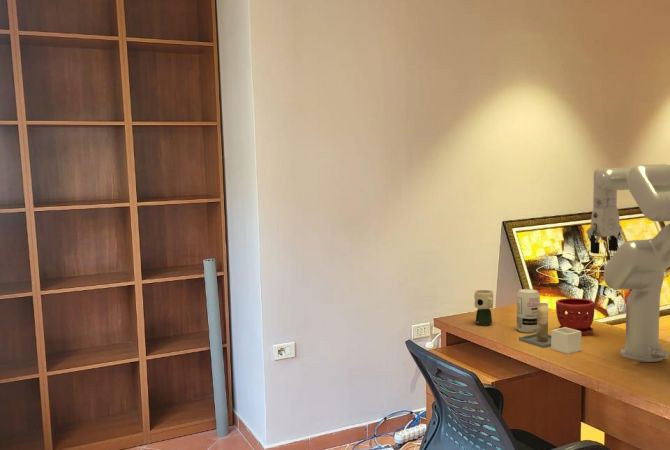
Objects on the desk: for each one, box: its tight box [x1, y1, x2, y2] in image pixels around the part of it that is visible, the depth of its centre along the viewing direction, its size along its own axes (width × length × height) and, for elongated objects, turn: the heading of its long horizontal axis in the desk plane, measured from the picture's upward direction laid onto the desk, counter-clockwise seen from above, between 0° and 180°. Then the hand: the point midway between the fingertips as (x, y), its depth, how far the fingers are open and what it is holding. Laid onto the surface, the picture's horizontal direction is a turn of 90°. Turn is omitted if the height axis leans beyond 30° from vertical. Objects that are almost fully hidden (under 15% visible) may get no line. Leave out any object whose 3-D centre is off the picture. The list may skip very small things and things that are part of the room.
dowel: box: [536, 302, 549, 342], centre depth 218 cm, size 4×4×13 cm
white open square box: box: [550, 327, 582, 355], centre depth 208 cm, size 7×7×7 cm
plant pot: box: [555, 297, 595, 337], centre depth 229 cm, size 13×13×12 cm
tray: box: [518, 332, 551, 349], centre depth 219 cm, size 11×11×2 cm
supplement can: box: [516, 288, 541, 334], centre depth 234 cm, size 8×8×15 cm
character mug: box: [473, 289, 494, 326], centre depth 245 cm, size 11×7×13 cm, turn 22°
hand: (604, 251), depth 222 cm, fingers open, 9 cm apart
